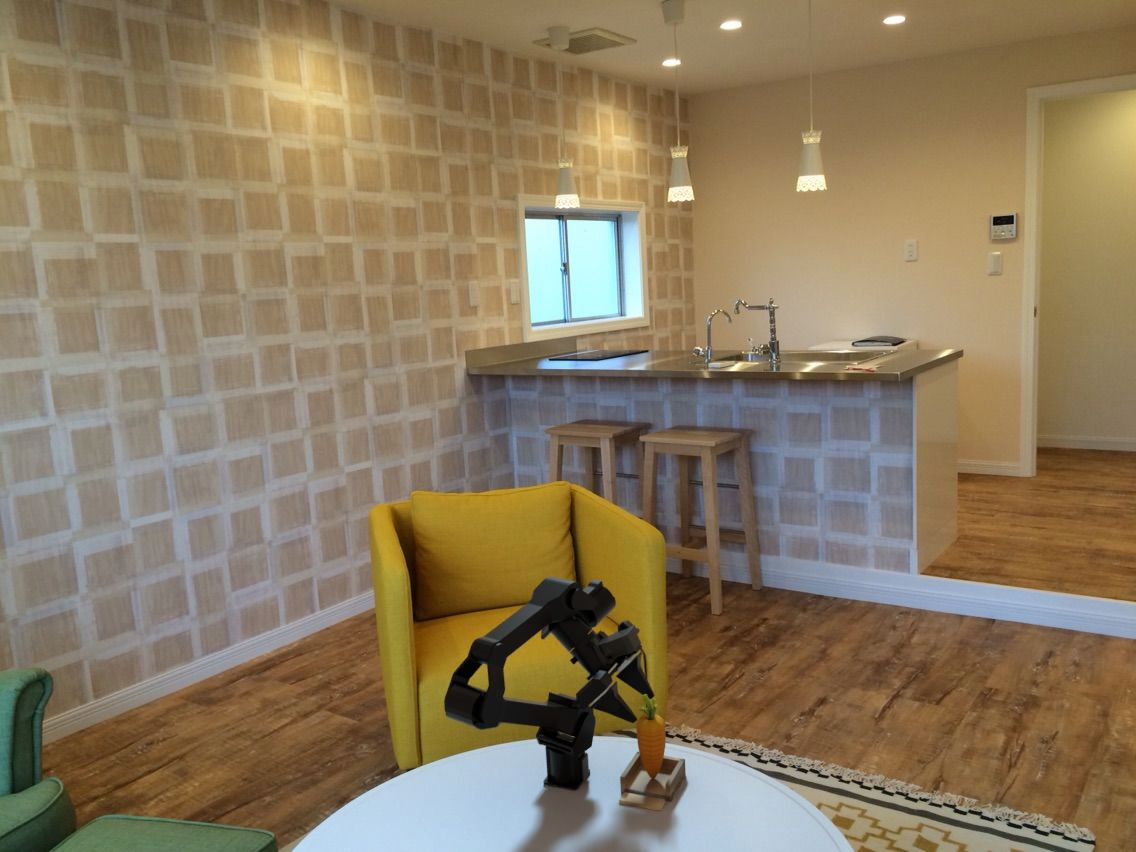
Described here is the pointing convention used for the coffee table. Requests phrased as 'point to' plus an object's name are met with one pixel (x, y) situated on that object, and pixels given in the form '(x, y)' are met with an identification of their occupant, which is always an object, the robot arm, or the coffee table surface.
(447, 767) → the coffee table surface
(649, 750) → the carrot
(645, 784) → the wooden tray
